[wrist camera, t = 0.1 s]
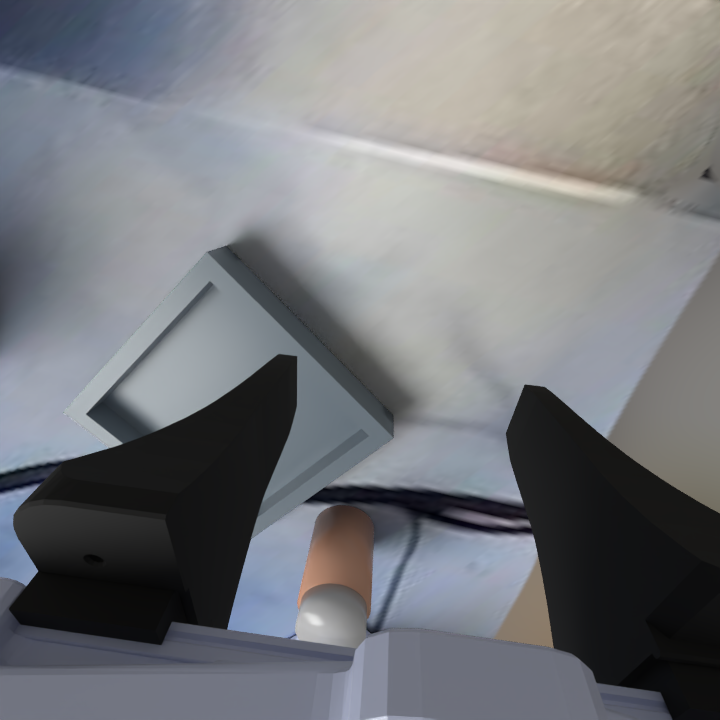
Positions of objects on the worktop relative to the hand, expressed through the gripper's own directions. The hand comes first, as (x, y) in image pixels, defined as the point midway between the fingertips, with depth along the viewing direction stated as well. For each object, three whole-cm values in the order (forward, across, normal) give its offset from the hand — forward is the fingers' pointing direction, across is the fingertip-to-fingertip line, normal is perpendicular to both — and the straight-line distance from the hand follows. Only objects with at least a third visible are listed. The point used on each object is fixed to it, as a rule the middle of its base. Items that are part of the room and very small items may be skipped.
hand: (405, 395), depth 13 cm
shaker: (+8, +2, +18) cm, 20 cm away
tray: (+9, +9, +9) cm, 16 cm away
